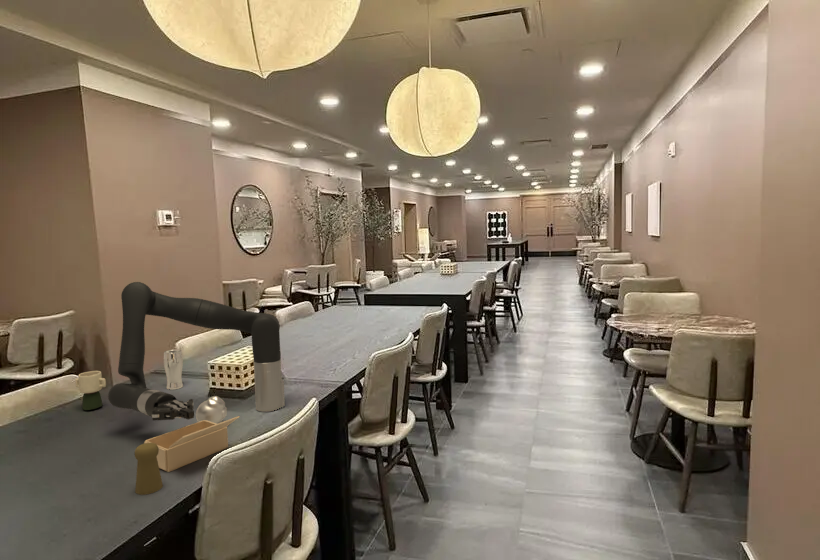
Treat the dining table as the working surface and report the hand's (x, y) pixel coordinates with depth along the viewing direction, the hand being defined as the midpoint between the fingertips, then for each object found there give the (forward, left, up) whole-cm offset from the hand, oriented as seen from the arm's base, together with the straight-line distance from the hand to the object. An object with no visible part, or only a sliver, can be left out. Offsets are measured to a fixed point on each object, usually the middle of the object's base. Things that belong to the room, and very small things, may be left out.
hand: (191, 415), depth 139 cm
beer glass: (-9, -74, -12) cm, 75 cm away
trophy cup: (+20, -65, -12) cm, 69 cm away
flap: (-1, +3, -5) cm, 6 cm away
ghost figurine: (-10, -20, -12) cm, 25 cm away
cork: (+13, +12, -12) cm, 21 cm away
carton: (+1, -2, -12) cm, 12 cm away
